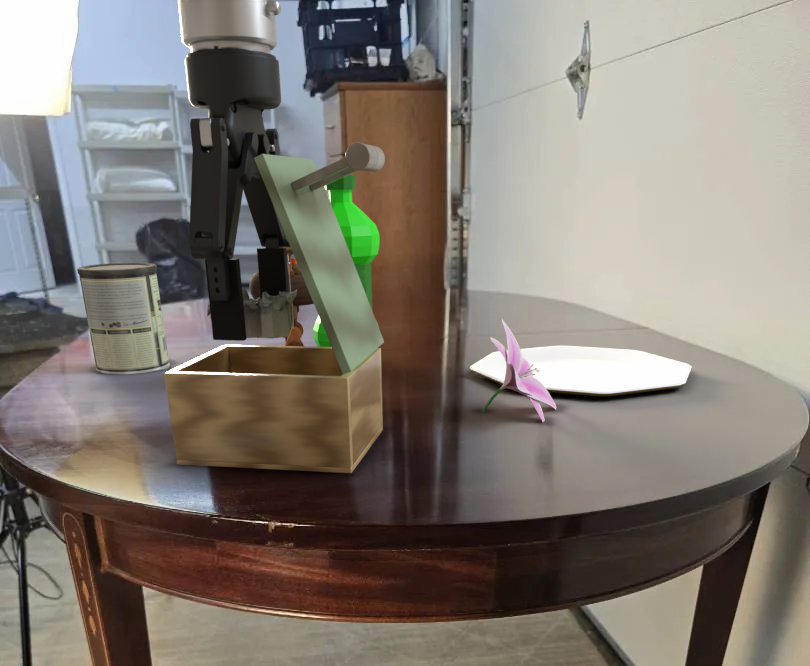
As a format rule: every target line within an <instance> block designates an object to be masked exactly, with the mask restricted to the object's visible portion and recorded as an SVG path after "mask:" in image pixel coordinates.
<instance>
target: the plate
mask: <svg viewBox="0 0 810 666" xmlns="http://www.w3.org/2000/svg"><path fill="white" fill-rule="evenodd" d="M520 350H521V355H522V357H523V358H525V359H526V360H527V361H528V363H529V364H530V366H532V365H533V366H532V367H531V368H532V370H533V369H535V368H537V369H536V370H538V372H537V371H536V370H533V371H534V372H533V371H532V372H533V374H535V375H533V377H534V378H536V379H537V380H538V381H540V382H541V383H542V384H543V386H544V387H545V388H546V389H547V391H548V392H549V393H554V394H555V393H556V394H569V395H579V396H580V395H581V396H591V397H615V396H621V395H623V396H624V395H630V394H639V393H647V392H655V391H663V390H671V389H672V390H673V389H679V388H681V387H684V386H686V383H687V382H688V378H689V376H690V373H691V372H692V368H693V366H692V365H690V364H689V363H686V362H682V361H678V360H676V359H672V358H668V357H665V356H660V355H658V354H654V353H651V352H646V351H644V350H643V351H642V350H638V349H637V350H636V349H627V348H612V347H611V348H609V347H596V346H595V347H592V346H577V345H549V346H548V345H547V346H538V347H528V348H520ZM506 351H507V356H508V349H506ZM507 361H508V359H507ZM539 370H540V371H539ZM469 371H470V372H471V373H473V374H476V375H477V376H480V377H482V378H485V379H487V380H490V381H492V382H493V383H496V384H497V385H501V386H502V385H503V383H504V380H505V374H506V360H505V358H504V357H503V355H502V354H501V352H500V351H499V350H497V351H492V352H491V353H489V354H488V355H486V356H485V357H483V358H481V359H480V360H478V361H476V362H475V363H473V364H472V365H470V366H469Z"/></svg>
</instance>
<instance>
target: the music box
mask: <svg viewBox="0 0 810 666" xmlns="http://www.w3.org/2000/svg"><path fill="white" fill-rule="evenodd" d="M284 248H286V254H287V269H288V284H289V293H290V292H294V291H295V290H297V295H296V297H295V298H294V300H293V301H292V303H293V316H294V324H293V325H292V329H291V330H289V336H288V337H283V339H284V338H285V339H284V341H285V342H284V343H285V344H284V346H305V344H304V343H303V341H302V337H303V334H304V326H303V325H302V324H301V323H300V322H299V321H298V314H299V312H300V307H303V306H310V305H314V303H313V300H312V298H311V295H310V293H309V291H308V288H307V286H306V283H305V281H304V278H303V276H302V274H301V271H300V269H299V266H298V264H297V261H296V259H295V257H292V255H294V254H293V252H292V249H291V247H284ZM249 293H250V295H251V297H252V299H253V300H256V299H257V298H259V297H261V295H260V283H259V271H258V272H254V273H253V275H252V276H251V278H250V281H249Z"/></svg>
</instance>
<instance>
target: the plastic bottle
mask: <svg viewBox="0 0 810 666" xmlns="http://www.w3.org/2000/svg"><path fill="white" fill-rule="evenodd" d="M324 188H325V190H326V191H327V192H328V198H329V200H330V203H331V206H332V208H333V211H334V213H335V216H336V219H337V221H338V224H339V226H340V229H341V231H342V234H343V237H344V239H345V242H346V244H347V247H348V250H349V252H350V255H351V257H352V260H353V262H354V265H355V268H356V270H357V273H358V275H359V278H360V281H361V283H362V286H363V288H364V291H365V293H366V296H367V299H368V301H369V304H370V306H371V309H372V310H373V287H372V285H373V284H372V281H373V280H372V262H373V261H374V259H376V257H377V256H378V255H379V250H380V245H381V244H380V232H379V229H378V226H377V224H376V223H375V222H374V221H373V220H372V219H371V218H370V217H369V216H368V215H367V214H366V213H365V212H364V211H363V210H362V209H361V208H360V207H358V206H357V205H356V204H355V203H354V202H353V191H354V190H356V189H357V187H356V174H350V175H347V176H345V177H343V178H341V179H339V180H336V181H334V182H332V183H330V184H328V185H326V186H324ZM376 322H377V323H378V321H377V320H376ZM378 327H379V328H380V326H379V325H378ZM312 336H313V340H314V343H315V344H316V347H331V344H330V342H329V339H328V337H327V334H326V332H325V329H324V327H323V325H322V322H321V320H320V317H319V315H317V317H316V320H315V321H314V324H313V328H312Z"/></svg>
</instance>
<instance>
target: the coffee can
mask: <svg viewBox="0 0 810 666" xmlns="http://www.w3.org/2000/svg"><path fill="white" fill-rule="evenodd" d="M157 267H158V266H157V264H155V263H150V262H115V263H114V262H113V263H100V264H89V265H84V266H80V267H77V268H76V270H77V274H78V277H79V281H80V287H81V293H82V298H83V304H84V308H85V313H86V319H87V325H88V331H89V335H90V336H89V337H90V341H91V347H92V353H93V358H94V363H95V368H96V369H95V371H97V372H98V373H102V374H107V375H135V374H144V373H151V372H156V371H161V370H168V369H169V368H170V367H171V364H170V360H169V353H168V352H169V351H168V344H167V337H166V332H165V331H166V330H165V324H164V317H163V310H162V303H161V296H160V295H161V294H160V291H159V290H160V289H159V283H158V276H157V270H158V268H157Z"/></svg>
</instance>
